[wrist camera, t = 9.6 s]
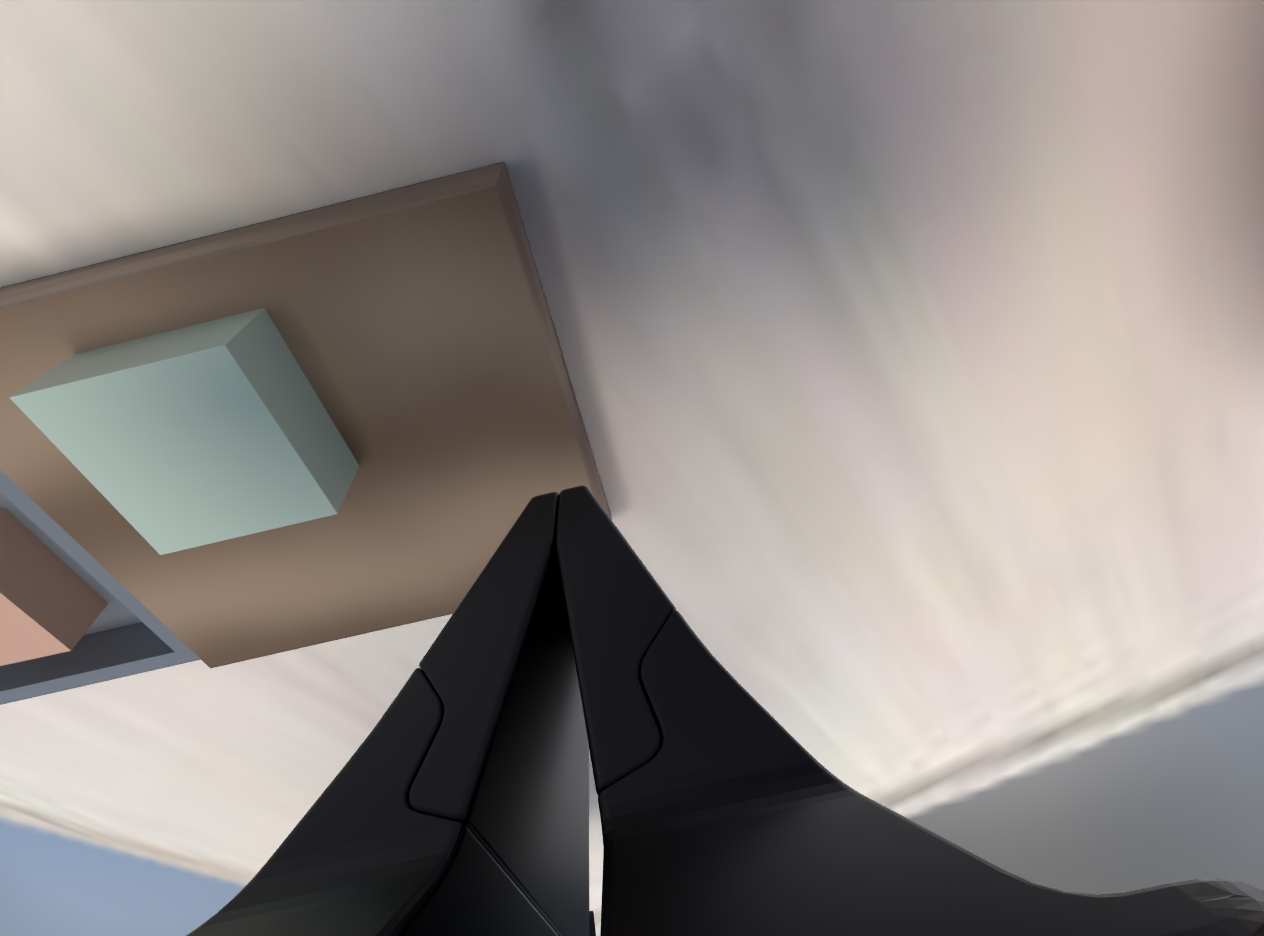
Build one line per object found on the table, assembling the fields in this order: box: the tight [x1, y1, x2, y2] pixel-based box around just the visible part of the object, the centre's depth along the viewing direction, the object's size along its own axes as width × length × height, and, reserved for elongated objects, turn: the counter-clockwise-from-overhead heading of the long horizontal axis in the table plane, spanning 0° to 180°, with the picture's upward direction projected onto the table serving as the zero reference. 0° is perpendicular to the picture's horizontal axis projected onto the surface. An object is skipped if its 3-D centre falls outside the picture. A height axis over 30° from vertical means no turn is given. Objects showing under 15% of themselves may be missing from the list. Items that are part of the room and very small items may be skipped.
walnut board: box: [0, 162, 612, 668], centre depth 17 cm, size 12×14×3 cm
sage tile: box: [9, 308, 359, 555], centre depth 14 cm, size 4×4×2 cm
